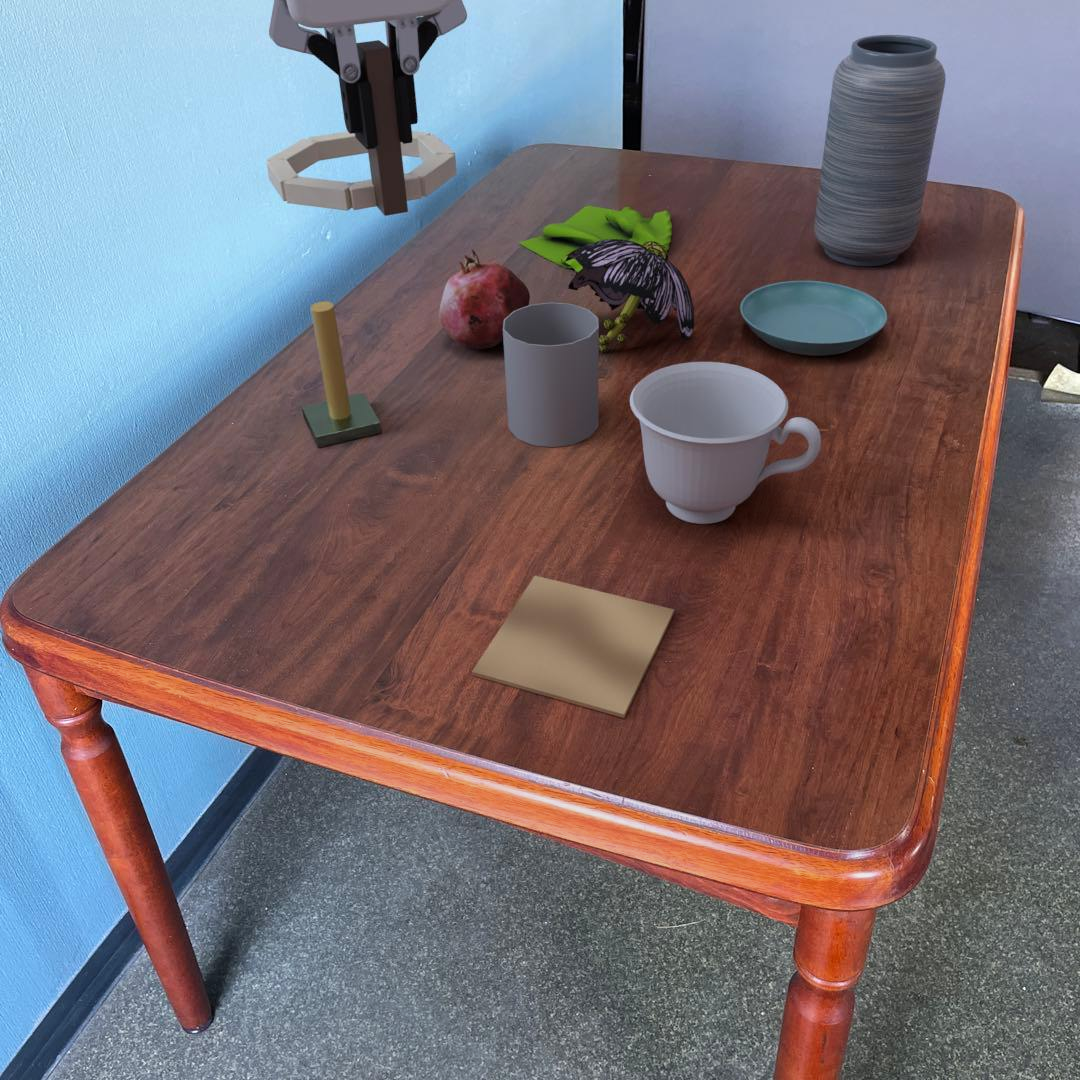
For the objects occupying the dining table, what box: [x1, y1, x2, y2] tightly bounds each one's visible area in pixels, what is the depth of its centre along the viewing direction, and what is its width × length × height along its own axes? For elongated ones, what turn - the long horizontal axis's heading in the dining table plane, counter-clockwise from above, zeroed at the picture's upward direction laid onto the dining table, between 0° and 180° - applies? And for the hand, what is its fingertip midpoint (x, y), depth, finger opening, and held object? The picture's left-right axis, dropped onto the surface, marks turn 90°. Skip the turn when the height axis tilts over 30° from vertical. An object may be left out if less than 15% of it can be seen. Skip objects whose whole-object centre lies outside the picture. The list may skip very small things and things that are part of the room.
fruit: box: [438, 248, 531, 350], centre depth 109 cm, size 9×10×10 cm
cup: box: [503, 301, 600, 448], centre depth 96 cm, size 8×8×10 cm
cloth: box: [518, 205, 673, 273], centre depth 132 cm, size 20×22×2 cm
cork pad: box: [471, 575, 676, 719], centre depth 76 cm, size 11×11×1 cm
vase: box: [813, 34, 946, 267], centre depth 120 cm, size 12×12×23 cm
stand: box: [301, 300, 382, 449], centre depth 96 cm, size 6×6×12 cm
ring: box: [265, 39, 457, 217], centre depth 72 cm, size 14×12×10 cm
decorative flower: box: [564, 239, 695, 353], centre depth 109 cm, size 14×12×15 cm
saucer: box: [739, 280, 888, 357], centre depth 111 cm, size 15×15×3 cm
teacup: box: [629, 361, 822, 525], centre depth 85 cm, size 12×15×10 cm
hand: (383, 138), depth 68 cm, fingers closed on ring
